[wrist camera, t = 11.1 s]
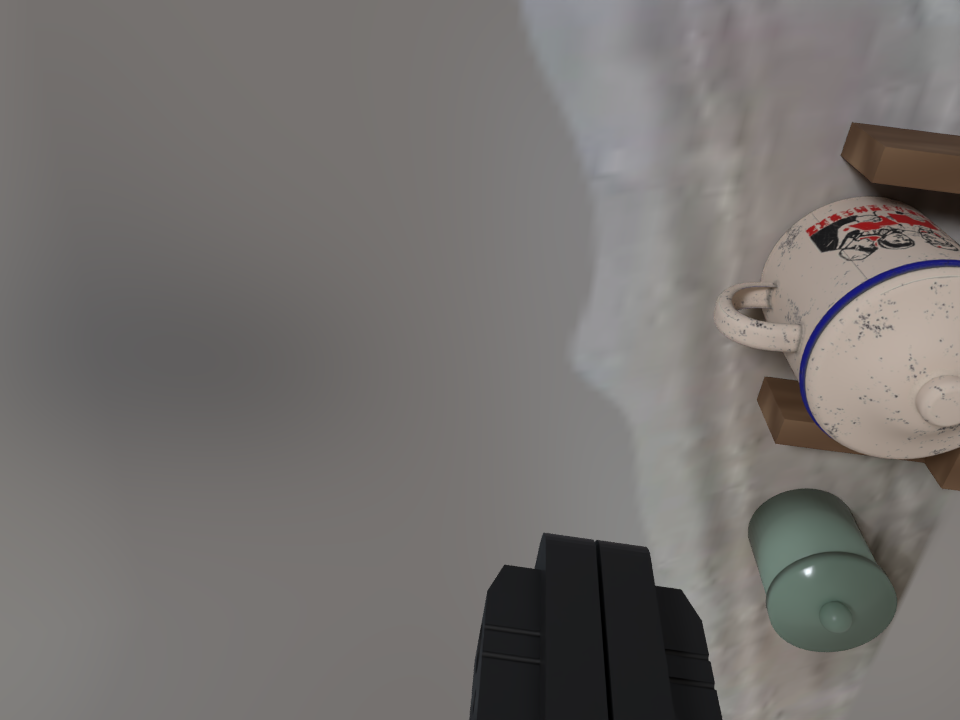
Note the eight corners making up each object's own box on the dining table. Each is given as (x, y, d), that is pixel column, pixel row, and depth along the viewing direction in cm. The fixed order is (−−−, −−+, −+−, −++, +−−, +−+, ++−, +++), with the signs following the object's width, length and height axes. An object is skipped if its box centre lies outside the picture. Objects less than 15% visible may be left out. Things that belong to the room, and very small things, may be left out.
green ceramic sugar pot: (744, 490, 47) (775, 585, 40) (859, 481, 46) (912, 578, 39) (744, 572, 49) (774, 675, 43) (853, 566, 48) (902, 670, 42)
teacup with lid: (974, 194, 37) (1134, 307, 27) (911, 363, 42) (1029, 512, 32) (713, 178, 37) (776, 282, 27) (680, 346, 42) (723, 489, 32)
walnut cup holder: (852, 122, 36) (904, 160, 30) (1051, 147, 36) (1138, 190, 30) (756, 399, 43) (785, 468, 38) (921, 420, 43) (972, 492, 38)
